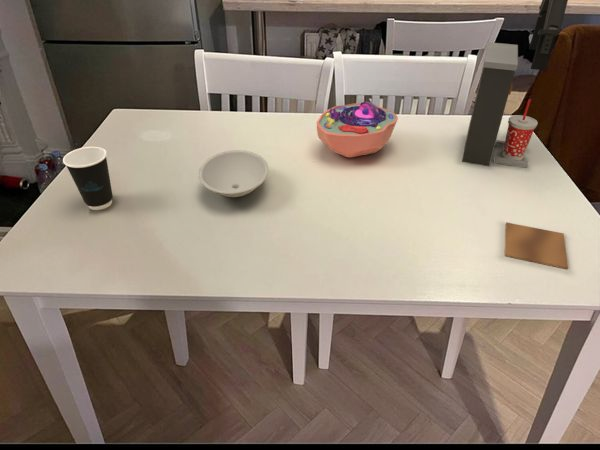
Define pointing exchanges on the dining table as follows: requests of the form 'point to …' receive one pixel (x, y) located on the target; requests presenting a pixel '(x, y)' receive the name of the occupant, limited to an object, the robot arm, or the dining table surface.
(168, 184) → the dining table surface
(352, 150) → the cell model
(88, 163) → the dixie cup
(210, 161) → the dish
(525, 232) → the cork coaster
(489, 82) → the coffee machine
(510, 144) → the beverage cup
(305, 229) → the dining table surface
